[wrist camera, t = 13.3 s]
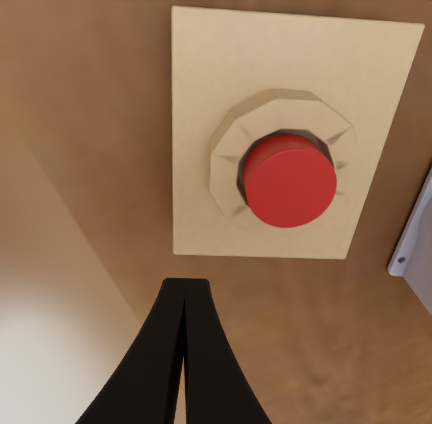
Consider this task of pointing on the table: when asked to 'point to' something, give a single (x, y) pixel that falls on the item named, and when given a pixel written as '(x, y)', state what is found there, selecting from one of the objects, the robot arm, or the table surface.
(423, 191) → the robot arm
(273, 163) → the button
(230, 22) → the button housing
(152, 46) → the table surface
